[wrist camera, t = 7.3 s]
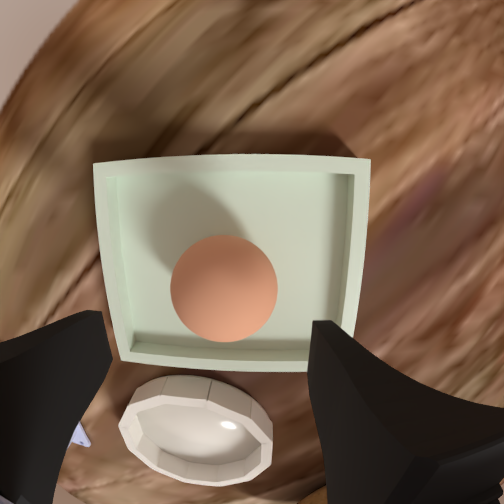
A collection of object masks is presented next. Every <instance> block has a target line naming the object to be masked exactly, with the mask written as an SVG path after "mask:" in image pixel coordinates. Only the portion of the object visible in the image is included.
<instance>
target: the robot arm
mask: <svg viewBox="0 0 504 504" xmlns="http://www.w3.org/2000/svg"><path fill="white" fill-rule="evenodd" d="M112 360H113V358H112V354H111V350H110V346H109V342H108V338H107V334H106V329H105V325H104V320H103V316H102V311H93V310H86V311H82V312H79V313H76V314H73V315H71V316H68V317H65V318H63V319H61V320H58V321H56V322H54V323H51V324H49V325H47V326H44V327H42V328H39V329H37V330H34V331H32V332H29V333H27V334H24V335H22V336H19V337H16V338H13V339H10V340H7V341H4V342H1V343H0V504H52V503H53V497H54V491H55V487H56V483H57V479H58V475H59V471H60V468H61V465H62V462H63V459H64V456H65V453H66V451H67V449H68V447H69V445H70V444H71V442H74V443H77V444H80V445H83V446H86V447H90V445H91V443H90V441H89V439H88V437H87V435H86V433H85V431H84V429H83V427H82V425H81V423H80V420H81V418H82V416H83V415H84V413H85V411H86V410H87V408H88V406H89V405H90V403H91V401H92V400H93V398H94V397H95V395H96V393H97V392H98V390H99V388H100V387H101V385H102V383H103V381H104V379H105V377H106V375H107V373H108V370H109V368H110V365H111V363H112ZM307 375H308V386H309V395H310V400H311V404H312V409H313V413H314V417H315V421H316V426H317V430H318V434H319V438H320V443H321V447H322V452H323V458H324V466H325V477H326V489H327V504H500V502H499V500H498V498H499V497H500V496H502V495H503V490H502V488H501V486H500V484H499V483H500V481H501V480H502V479H503V478H504V408H500V407H494V406H488V405H483V404H478V403H474V402H470V401H467V400H463V399H460V398H457V397H454V396H451V395H448V394H445V393H442V392H440V391H438V390H435V389H433V388H430V387H428V386H426V385H423V384H421V383H419V382H417V381H415V380H413V379H411V378H410V377H408V376H406V375H404V374H402V373H401V372H399V371H397V370H395V369H394V368H392V367H391V366H389V365H388V364H386V363H385V362H383V361H382V360H380V359H379V358H378V357H376V356H375V355H373V354H372V353H371V352H369V351H368V350H367V349H366V348H364V347H363V346H362V345H361V344H359V343H358V342H357V341H356V340H354V339H353V338H352V337H351V336H350V335H349V334H347V333H346V332H345V331H344V330H343V329H342V328H340V327H339V326H338V325H337V324H336V323H335V322H333V321H332V320H313V321H312V332H311V341H310V350H309V359H308V367H307Z"/></svg>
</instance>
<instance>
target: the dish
mask: <svg viewBox="0 0 504 504" xmlns="http://www.w3.org/2000/svg"><path fill="white" fill-rule="evenodd" d="M119 429H120V431H121V433H122V436H123V438H124V440H125V443H126V445H127V447H128V449H129V450H130V451H131V452H132V453H133V454H135V455H136V456H137V457H138V458H139V459H140V460H142V461H143V462H144V463H145V464H146V465H148V466H149V467H150V468H151V469H153V470H155V471H157V472H160V473H162V474H165V475H167V476H169V477H172V478H174V479H177V480H179V481H182V482H185V483H192V484H200V485H209V486H225V485H231V484H236V483H241V482H246V481H250V480H252V479H253V478H255V477H256V476H257V475H259V474H260V473H261V472H263V471H264V470H265V469H266V468H268V467H269V466H270V465H271V459H272V447H273V423H272V422H271V421H270V419H269V417H268V415H267V413H266V411H265V410H264V409H263V407H262V406H261V405H260V404H259V403H258V402H257V401H256V400H254V399H253V398H252V397H251V396H249V395H248V394H246V393H245V392H243V391H242V390H240V389H238V388H236V387H234V386H232V385H229V384H227V383H224V382H221V381H218V380H215V379H211V378H207V377H202V376H195V375H168V376H162V377H159V378H155V379H152V380H150V381H148V382H146V383H145V384H143V385H142V386H140V387H138V388H137V389H136V391H135V393H134V394H133V396H132V398H131V400H130V402H129V404H128V406H127V408H126V410H125V412H124V415H123V417H122V419H121V421H120V423H119Z"/></svg>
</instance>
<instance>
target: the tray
mask: <svg viewBox="0 0 504 504" xmlns="http://www.w3.org/2000/svg"><path fill="white" fill-rule="evenodd" d="M370 165H371V159H361V158H348V157H333V156H315V155H287V154H218V155H190V156H171V157H156V158H143V159H132V160H121V161H112V162H103V163H94V164H93V174H94V193H95V207H96V219H97V229H98V238H99V247H100V254H101V262H102V269H103V275H104V281H105V287H106V293H107V299H108V304H109V309H110V314H111V319H112V324H113V329H114V333H115V337H116V342H117V346H118V350H119V354H120V358H121V360H122V361H129V362H136V363H144V364H152V365H161V366H170V367H181V368H193V369H207V370H224V371H249V372H307V367H308V359H309V350H310V341H311V332H312V321H313V320H332V321H333V322H335V323H336V324H337V325H338V326H339V327H340V328H342V329H343V330H344V331H345V332H346V333H347V334H349V335H350V336H351V337H352V338H353V334H354V329H355V322H356V316H357V310H358V303H359V296H360V289H361V281H362V273H363V264H364V255H365V245H366V234H367V222H368V208H369V191H370ZM216 235H232V236H237V237H240V238H243V239H246V240H248V241H250V242H251V243H253V244H254V245H256V246H257V247H258V248H259V249H261V250H262V251H263V252H264V254H265V255H266V256H267V257H268V259H269V260H270V262H271V263H272V266H273V268H274V270H275V274H276V277H277V283H278V294H277V301H276V304H275V307H274V310H273V312H272V314H271V316H270V317H269V319H268V320H267V322H266V323H265V324H264V325H263V326H262V327H261V328H260V329H259V330H258V331H257V332H255V333H254V334H252V335H250V336H248V337H246V338H244V339H241V340H238V341H234V342H216V341H211V340H207V339H205V338H202V337H200V336H198V335H196V334H195V333H193V332H192V331H191V330H189V329H188V328H187V327H186V326H185V325H184V324H183V323H182V321H181V320H180V319H179V317H178V315H177V313H176V311H175V309H174V307H173V304H172V300H171V293H170V283H171V277H172V273H173V270H174V267H175V265H176V263H177V261H178V260H179V258H180V257H181V255H182V254H183V253H184V252H185V251H186V250H187V249H188V248H189V247H190V246H192V245H193V244H195V243H196V242H198V241H200V240H202V239H204V238H207V237H211V236H216Z"/></svg>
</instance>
